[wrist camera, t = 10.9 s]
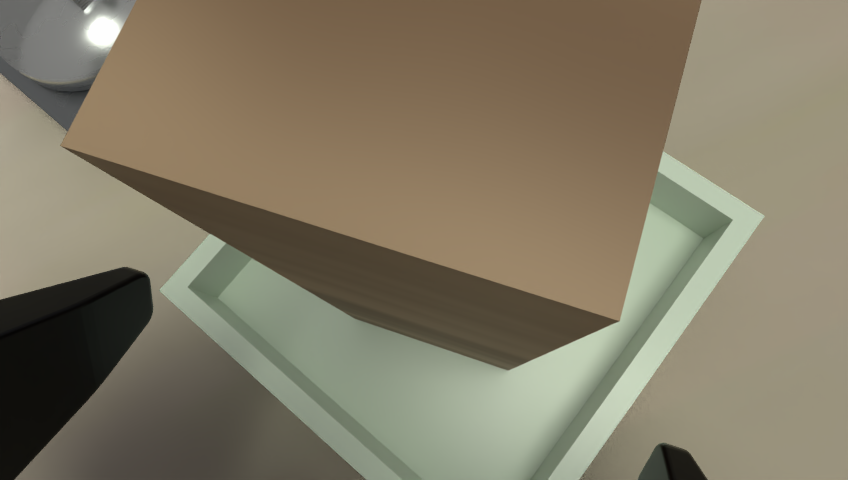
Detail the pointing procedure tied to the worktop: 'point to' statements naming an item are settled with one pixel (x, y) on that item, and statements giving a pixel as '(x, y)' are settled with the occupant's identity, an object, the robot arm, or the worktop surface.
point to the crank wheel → (60, 39)
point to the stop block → (406, 150)
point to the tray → (462, 376)
